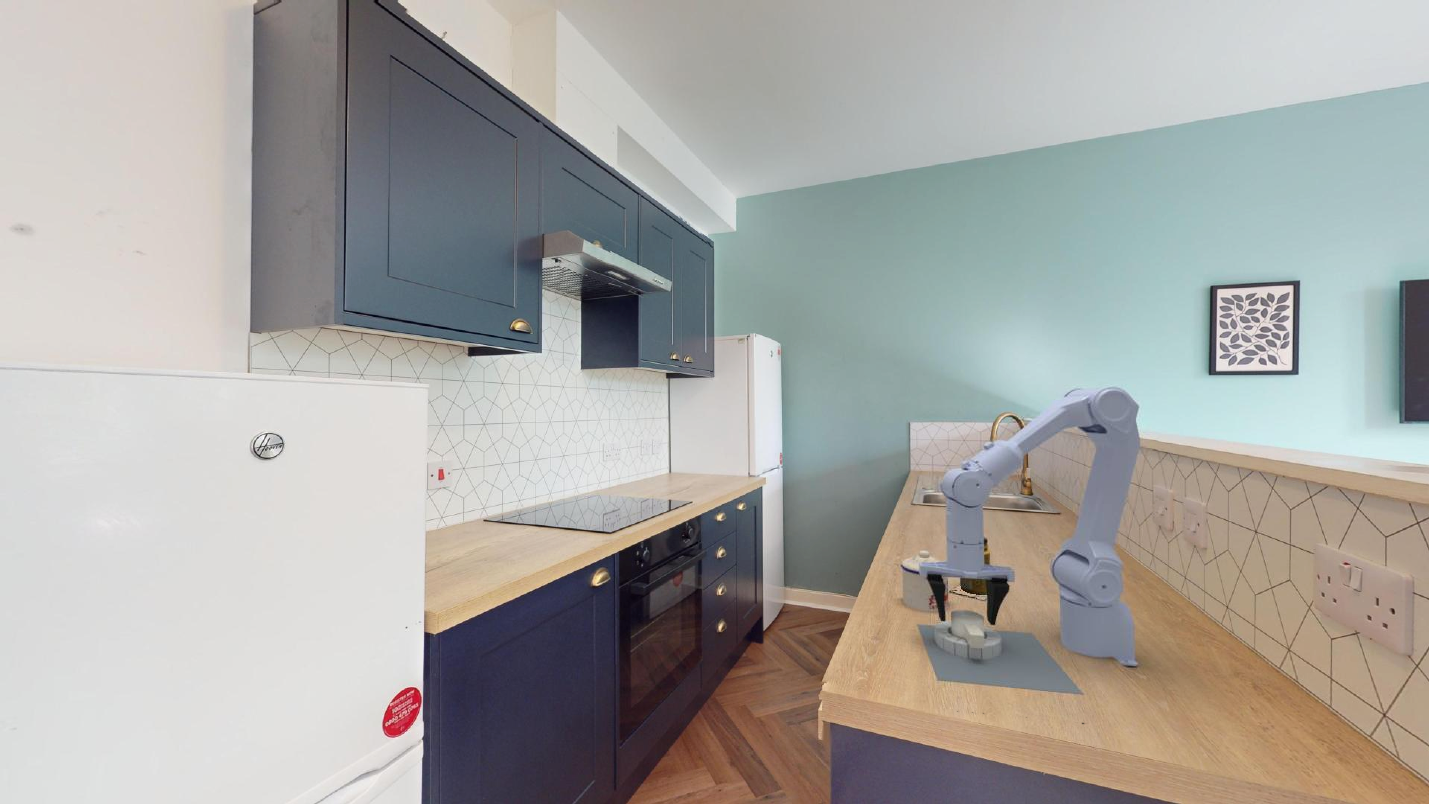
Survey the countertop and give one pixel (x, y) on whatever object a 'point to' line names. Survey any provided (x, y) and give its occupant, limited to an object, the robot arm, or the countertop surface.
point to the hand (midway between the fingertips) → (966, 620)
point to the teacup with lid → (919, 585)
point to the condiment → (976, 584)
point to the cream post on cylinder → (968, 627)
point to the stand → (994, 660)
